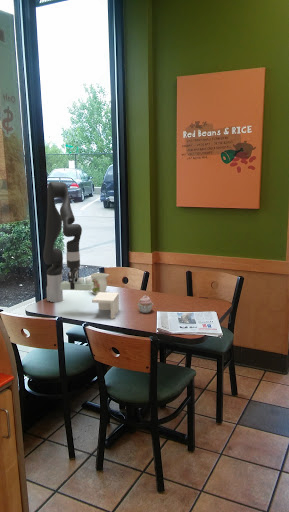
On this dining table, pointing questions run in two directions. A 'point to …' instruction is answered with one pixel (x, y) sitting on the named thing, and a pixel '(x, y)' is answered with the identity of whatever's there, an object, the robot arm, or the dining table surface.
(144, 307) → the cupcake
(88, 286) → the caddy
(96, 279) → the pitcher
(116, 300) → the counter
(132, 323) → the dining table surface
